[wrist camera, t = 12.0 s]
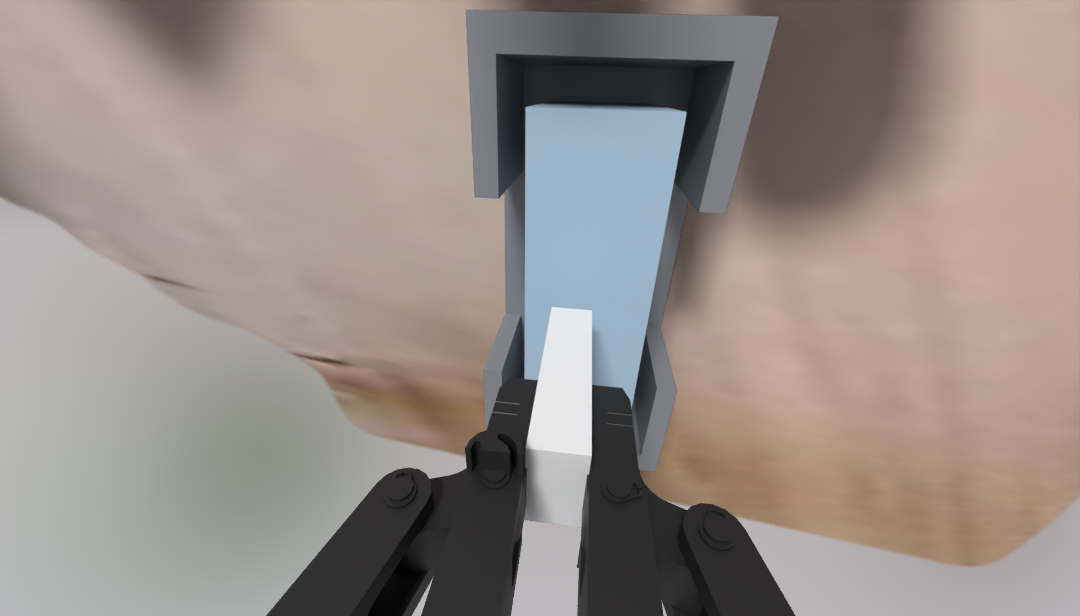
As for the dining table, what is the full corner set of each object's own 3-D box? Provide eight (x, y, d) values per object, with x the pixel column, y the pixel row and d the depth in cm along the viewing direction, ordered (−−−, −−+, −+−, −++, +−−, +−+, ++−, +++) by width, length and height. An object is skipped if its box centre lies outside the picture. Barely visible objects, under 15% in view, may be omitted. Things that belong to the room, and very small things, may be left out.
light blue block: (542, 359, 27) (524, 452, 20) (551, 100, 19) (525, 107, 12) (614, 366, 27) (621, 463, 20) (653, 104, 19) (686, 112, 12)
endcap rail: (509, 376, 30) (487, 450, 24) (507, 35, 19) (465, 9, 13) (642, 391, 29) (655, 472, 23) (718, 40, 18) (779, 16, 12)
